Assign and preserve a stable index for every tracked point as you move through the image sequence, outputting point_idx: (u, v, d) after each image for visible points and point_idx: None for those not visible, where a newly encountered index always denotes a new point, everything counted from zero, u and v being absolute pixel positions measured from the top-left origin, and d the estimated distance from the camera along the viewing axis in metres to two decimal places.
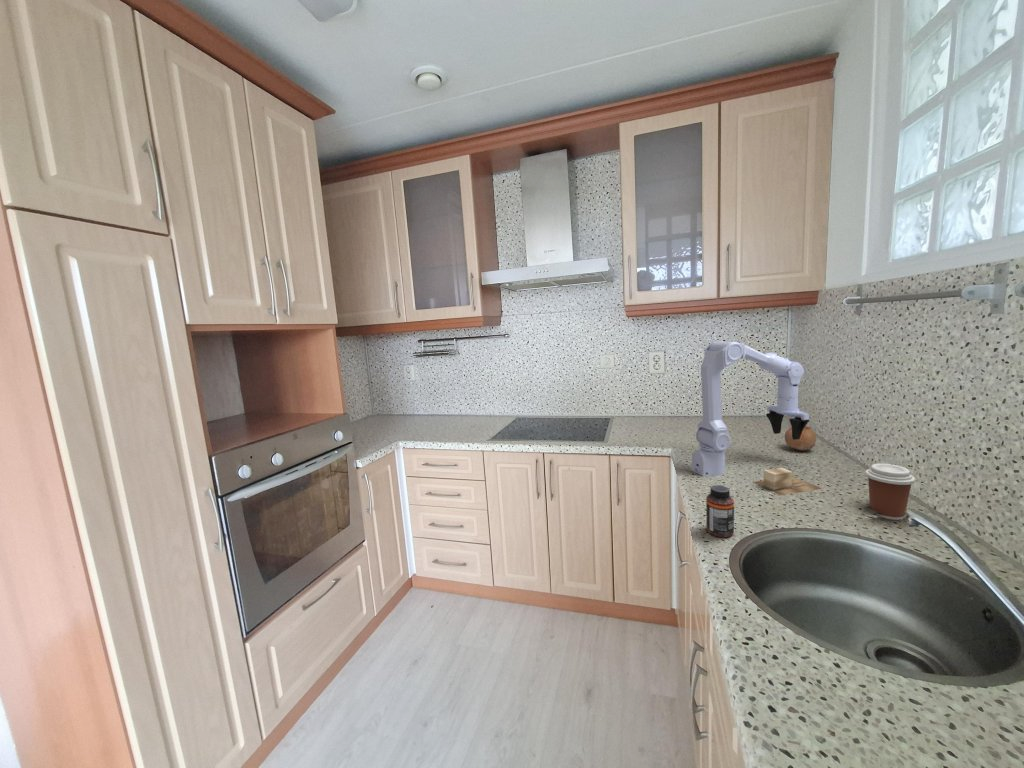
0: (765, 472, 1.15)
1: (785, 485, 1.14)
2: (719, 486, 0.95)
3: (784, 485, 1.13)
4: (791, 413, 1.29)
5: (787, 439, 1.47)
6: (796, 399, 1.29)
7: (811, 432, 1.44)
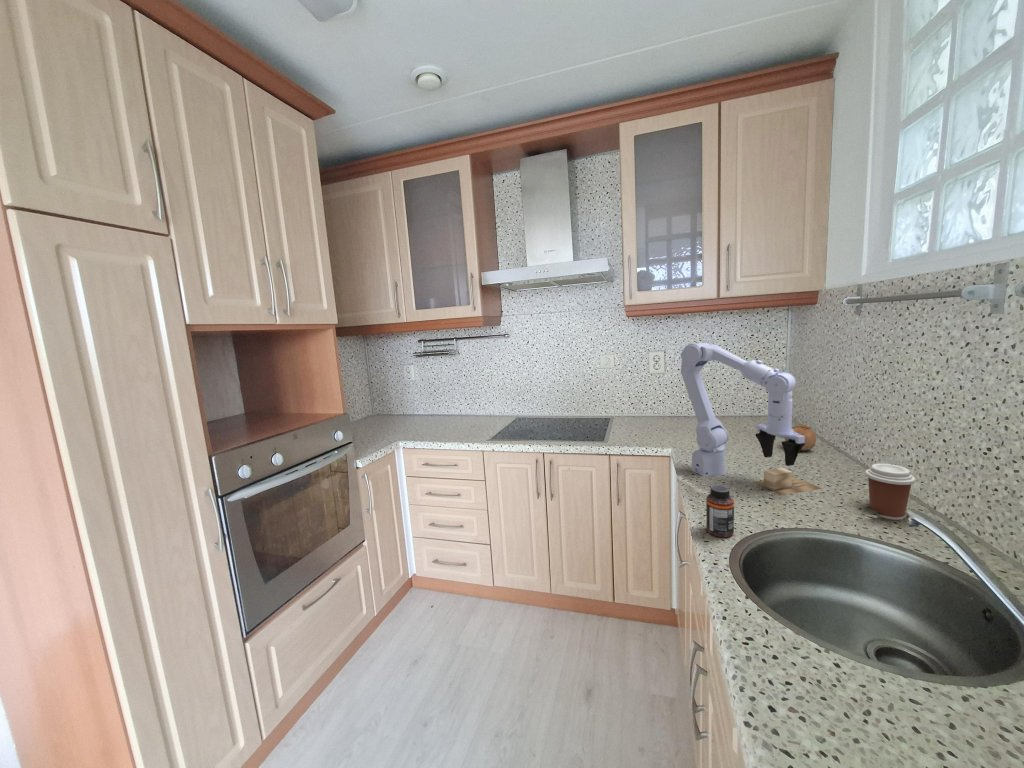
0: (765, 472, 1.15)
1: (785, 485, 1.14)
2: (719, 486, 0.95)
3: (784, 485, 1.13)
4: (784, 435, 1.09)
5: (787, 439, 1.47)
6: (790, 418, 1.10)
7: (811, 432, 1.44)
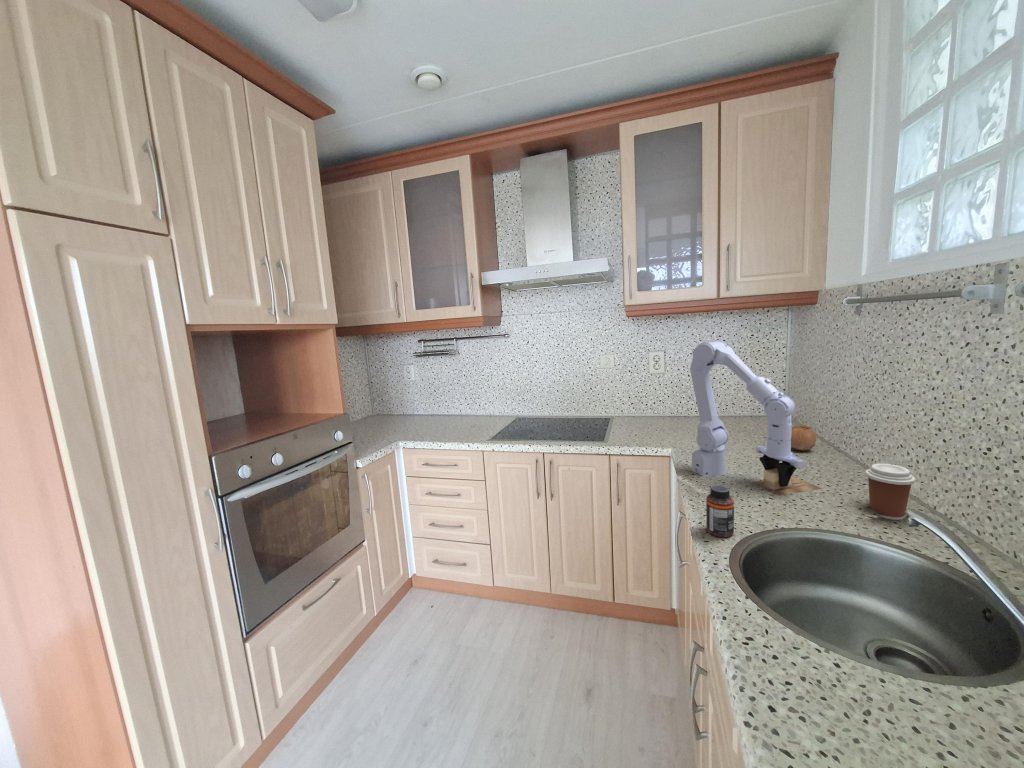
0: (765, 472, 1.15)
1: None
2: (719, 486, 0.95)
3: None
4: (783, 459, 1.10)
5: None
6: (789, 442, 1.11)
7: (811, 432, 1.44)
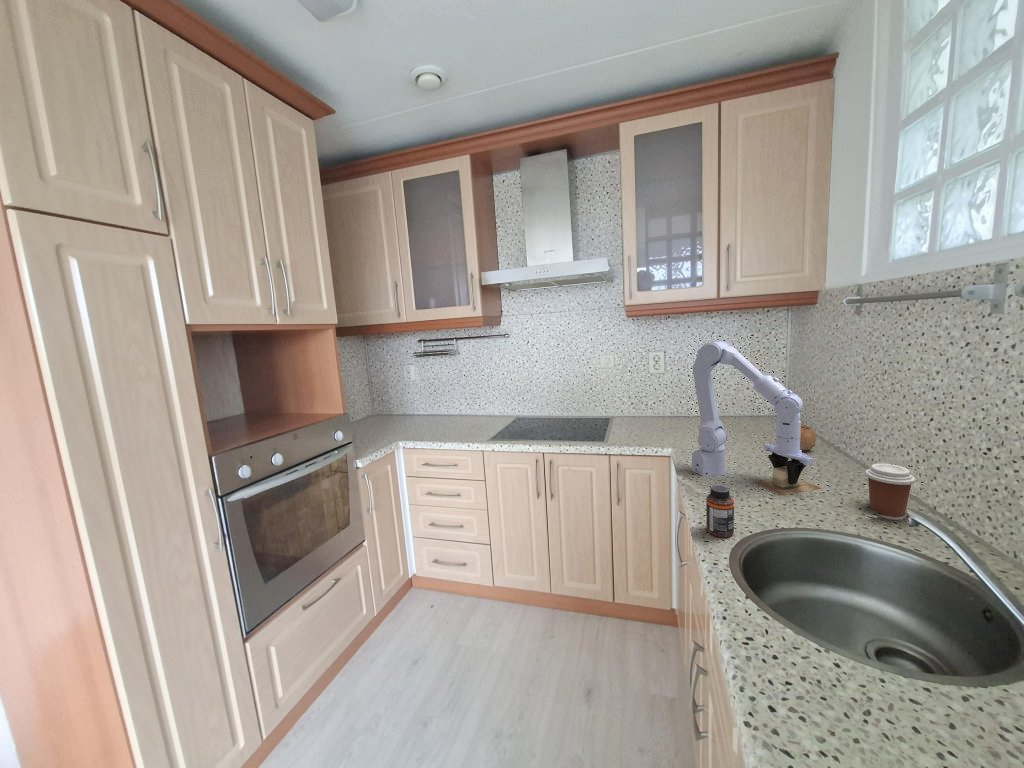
0: (774, 470, 1.16)
1: None
2: (719, 486, 0.95)
3: None
4: (792, 456, 1.11)
5: None
6: (798, 440, 1.11)
7: (811, 432, 1.44)
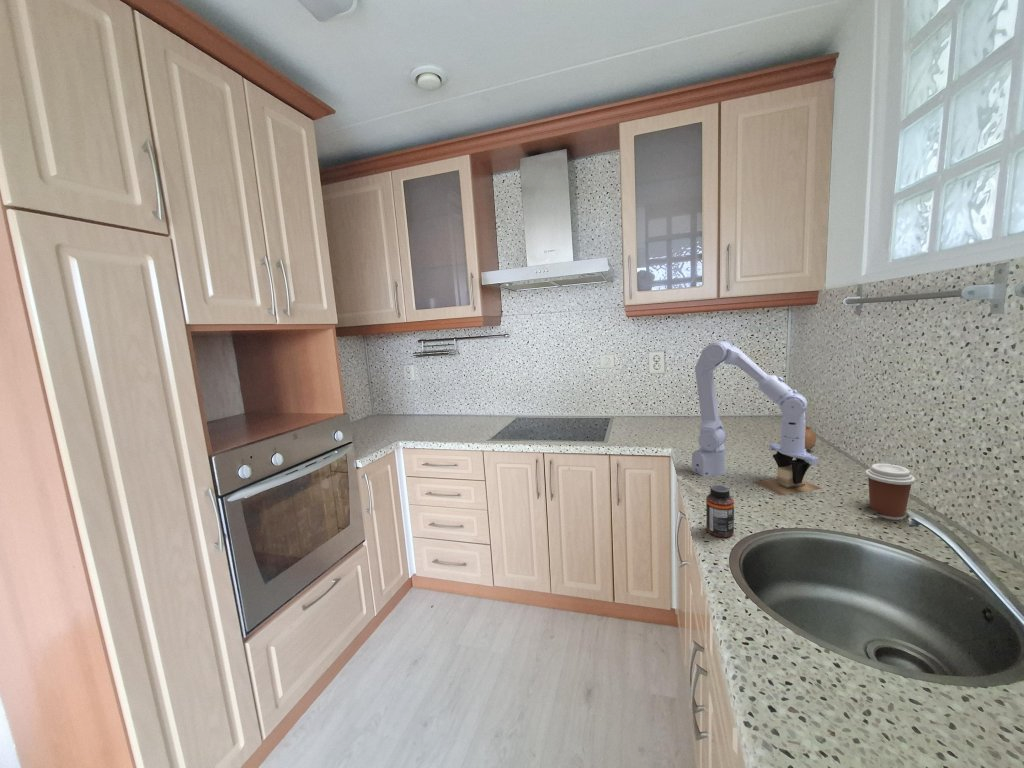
0: (779, 469, 1.16)
1: (799, 483, 1.14)
2: (719, 486, 0.95)
3: None
4: (797, 456, 1.11)
5: None
6: (803, 439, 1.12)
7: (811, 432, 1.44)
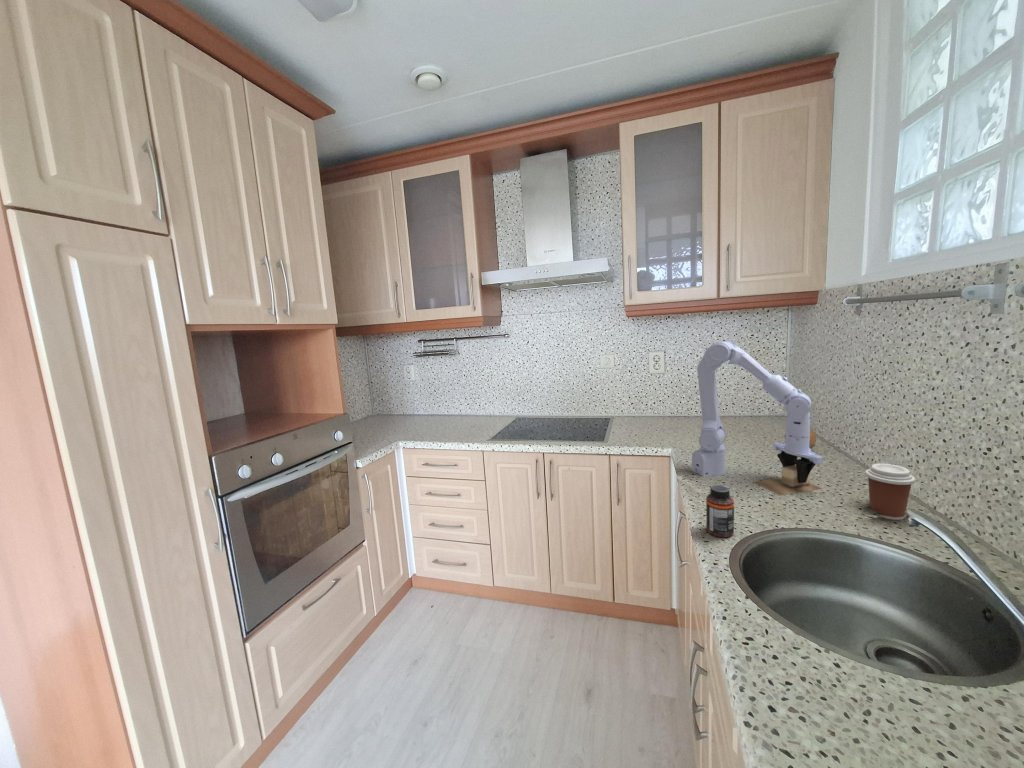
0: (783, 469, 1.16)
1: None
2: (719, 486, 0.95)
3: None
4: (802, 455, 1.11)
5: None
6: (807, 438, 1.12)
7: (811, 432, 1.44)
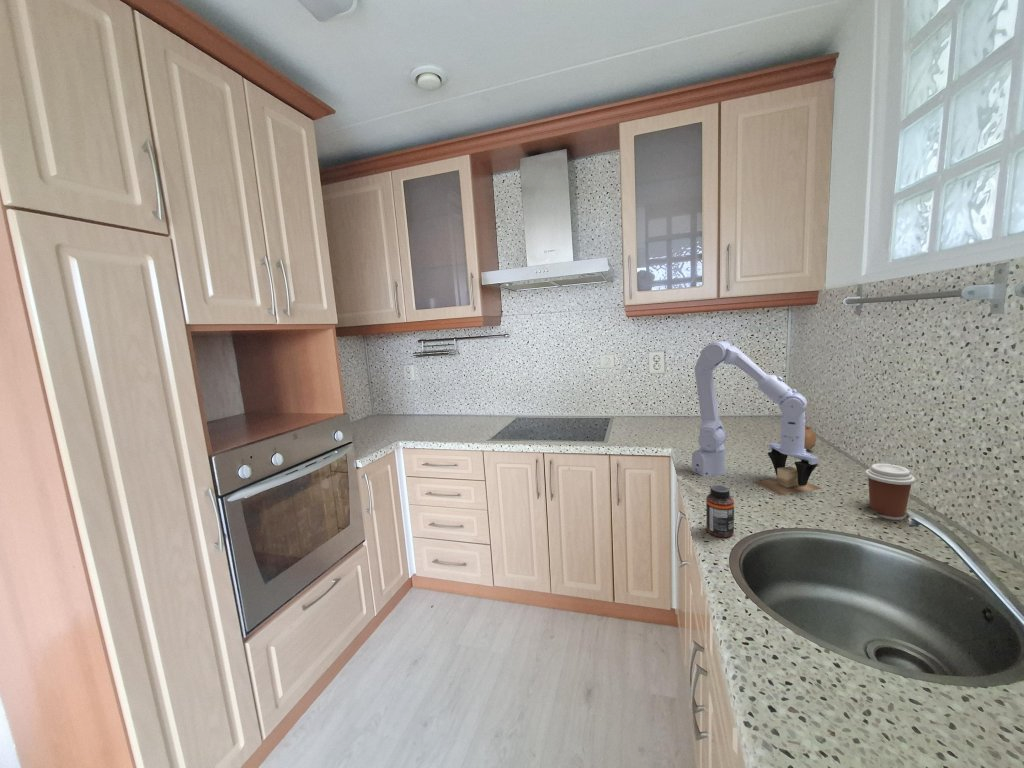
0: (778, 470, 1.16)
1: None
2: (719, 486, 0.95)
3: (797, 483, 1.14)
4: (797, 455, 1.11)
5: None
6: (802, 439, 1.11)
7: (811, 432, 1.44)
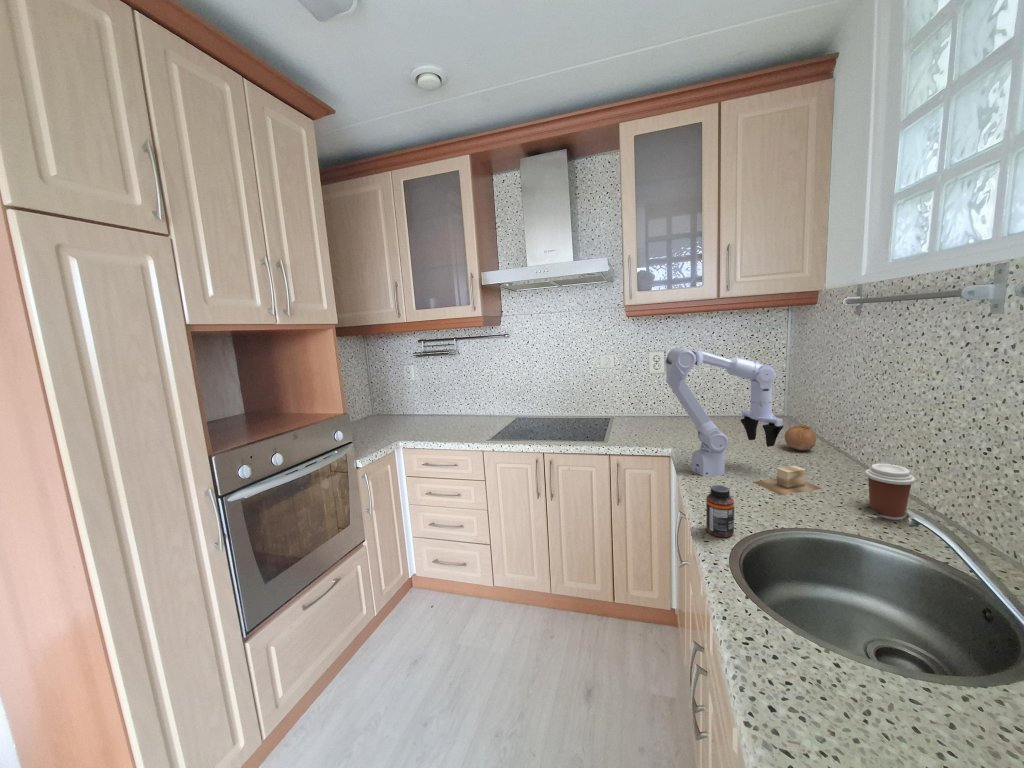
0: (778, 470, 1.16)
1: (799, 483, 1.14)
2: (719, 486, 0.95)
3: (797, 483, 1.14)
4: (764, 419, 1.23)
5: (787, 439, 1.47)
6: (769, 404, 1.23)
7: (811, 432, 1.44)
